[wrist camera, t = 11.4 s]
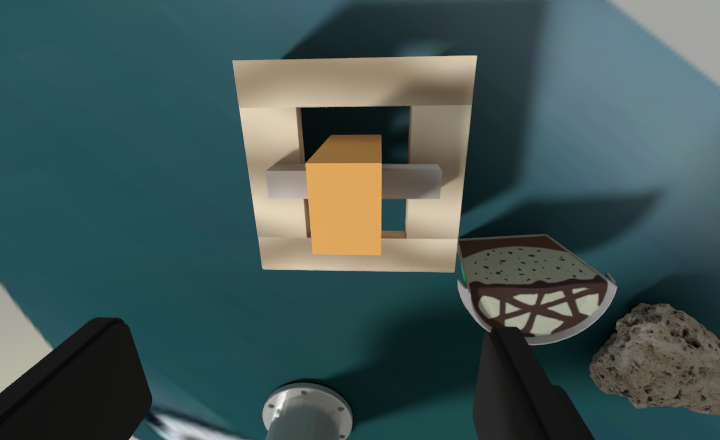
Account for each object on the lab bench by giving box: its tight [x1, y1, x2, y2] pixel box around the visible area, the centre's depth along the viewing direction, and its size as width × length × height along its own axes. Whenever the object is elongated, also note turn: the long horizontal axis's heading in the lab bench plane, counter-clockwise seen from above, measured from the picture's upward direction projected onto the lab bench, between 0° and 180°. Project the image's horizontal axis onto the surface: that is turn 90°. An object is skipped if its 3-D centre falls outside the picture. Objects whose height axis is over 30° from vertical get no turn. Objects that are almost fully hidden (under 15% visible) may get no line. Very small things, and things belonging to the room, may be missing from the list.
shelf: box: [233, 55, 477, 272], centre depth 28 cm, size 16×16×11 cm
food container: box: [457, 234, 617, 345], centre depth 32 cm, size 12×6×10 cm, turn 95°
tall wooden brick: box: [305, 135, 382, 255], centre depth 23 cm, size 5×4×10 cm
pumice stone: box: [589, 303, 720, 415], centre depth 36 cm, size 14×12×8 cm
